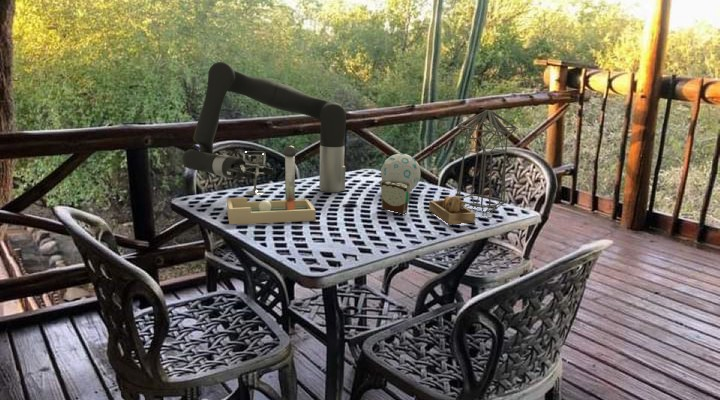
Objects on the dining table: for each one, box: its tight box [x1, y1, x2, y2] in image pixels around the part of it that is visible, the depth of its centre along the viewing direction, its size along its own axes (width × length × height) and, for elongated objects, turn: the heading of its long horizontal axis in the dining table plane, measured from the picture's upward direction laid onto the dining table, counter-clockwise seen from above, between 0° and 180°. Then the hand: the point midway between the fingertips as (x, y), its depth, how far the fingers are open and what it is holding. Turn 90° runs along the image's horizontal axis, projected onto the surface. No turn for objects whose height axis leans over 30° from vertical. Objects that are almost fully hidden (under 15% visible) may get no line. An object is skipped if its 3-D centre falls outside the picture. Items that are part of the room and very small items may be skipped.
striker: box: [283, 144, 297, 210], centre depth 184 cm, size 4×5×21 cm
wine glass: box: [242, 150, 267, 196], centre depth 213 cm, size 8×8×15 cm
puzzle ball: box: [380, 153, 422, 190], centre depth 220 cm, size 15×15×15 cm
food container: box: [379, 179, 413, 215], centre depth 196 cm, size 12×6×10 cm, turn 47°
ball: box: [259, 199, 271, 211], centre depth 185 cm, size 4×4×4 cm
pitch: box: [226, 197, 316, 225], centre depth 185 cm, size 26×13×5 cm, turn 106°
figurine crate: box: [428, 199, 476, 225], centre depth 190 cm, size 9×17×4 cm, turn 16°
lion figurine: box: [443, 195, 466, 214], centre depth 189 cm, size 15×5×9 cm, turn 11°
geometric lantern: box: [455, 109, 519, 217], centre depth 192 cm, size 16×16×35 cm
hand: (263, 174), depth 191 cm, fingers open, 8 cm apart
